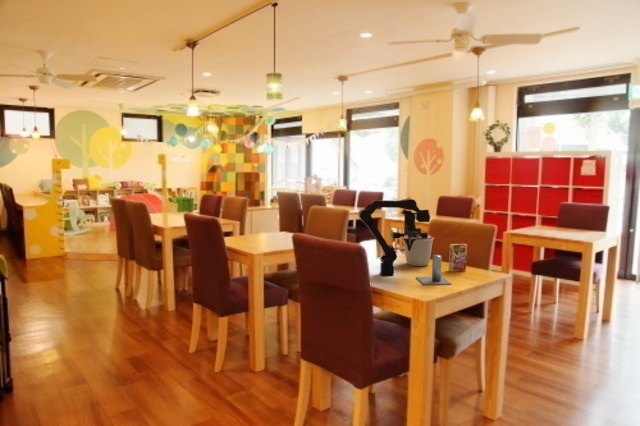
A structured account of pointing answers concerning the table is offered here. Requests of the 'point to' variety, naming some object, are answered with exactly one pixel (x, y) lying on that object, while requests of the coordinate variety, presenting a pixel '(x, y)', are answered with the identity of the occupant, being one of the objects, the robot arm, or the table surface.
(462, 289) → the table surface
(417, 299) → the table surface
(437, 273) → the tin canister
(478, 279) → the table surface
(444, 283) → the gray mat
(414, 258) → the canister
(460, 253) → the candy box
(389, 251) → the robot arm
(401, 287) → the table surface
